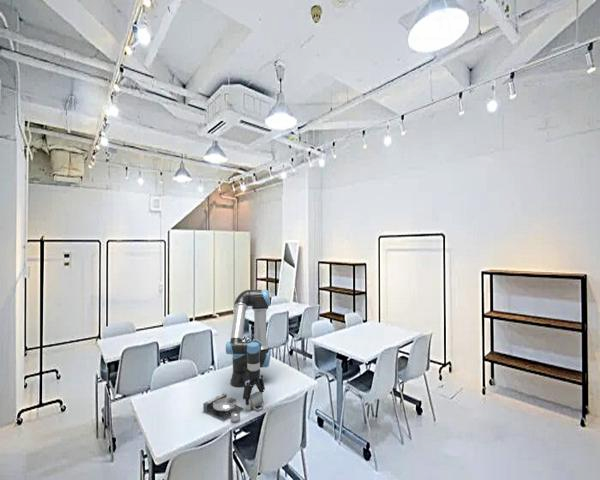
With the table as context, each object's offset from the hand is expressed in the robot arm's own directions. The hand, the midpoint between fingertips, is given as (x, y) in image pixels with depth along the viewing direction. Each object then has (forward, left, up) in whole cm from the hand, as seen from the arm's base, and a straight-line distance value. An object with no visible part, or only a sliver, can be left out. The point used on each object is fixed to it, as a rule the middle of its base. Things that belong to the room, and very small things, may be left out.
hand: (254, 406), depth 198 cm
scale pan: (+14, -10, +2) cm, 17 cm away
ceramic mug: (0, +1, -1) cm, 1 cm away
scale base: (+14, -12, 0) cm, 18 cm away
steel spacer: (+17, +2, 0) cm, 17 cm away
